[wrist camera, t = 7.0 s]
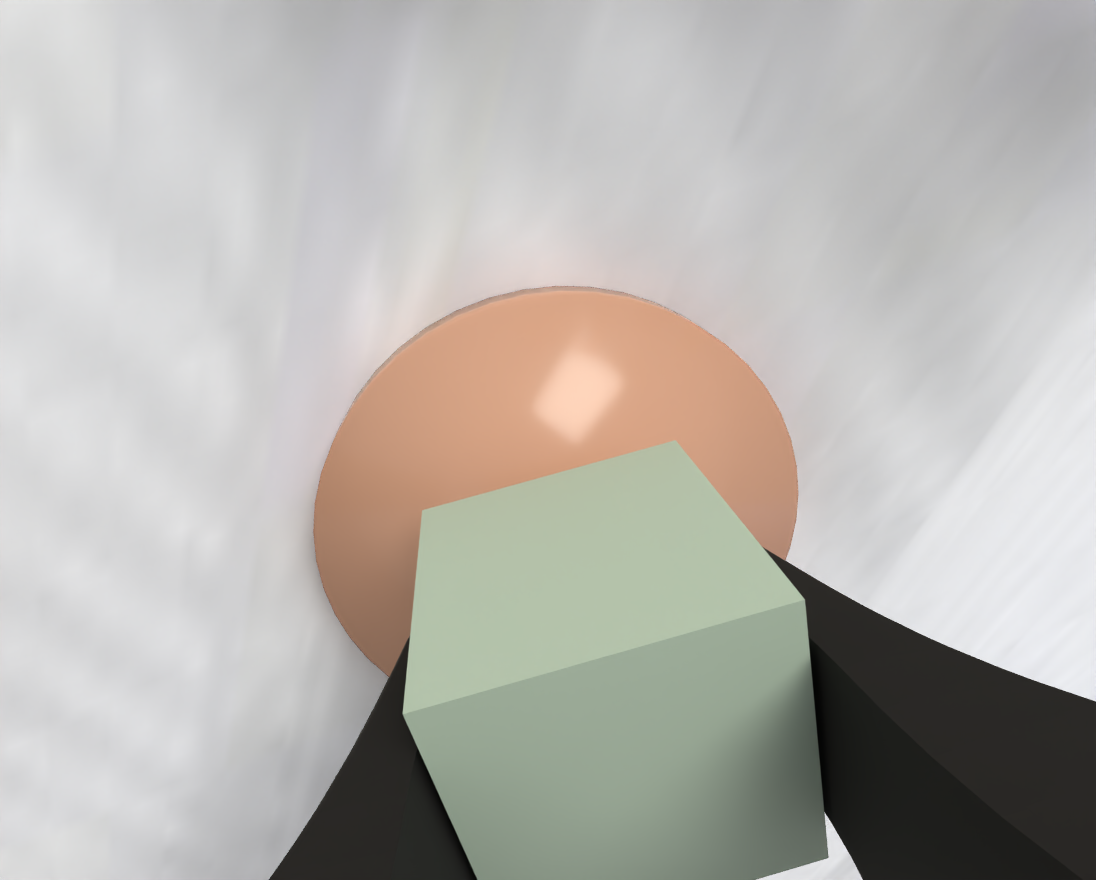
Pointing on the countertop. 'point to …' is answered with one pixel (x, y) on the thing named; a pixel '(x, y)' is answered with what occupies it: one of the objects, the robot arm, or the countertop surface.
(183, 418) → the countertop surface
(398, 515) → the peach glossy disc
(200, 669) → the countertop surface
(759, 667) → the block
